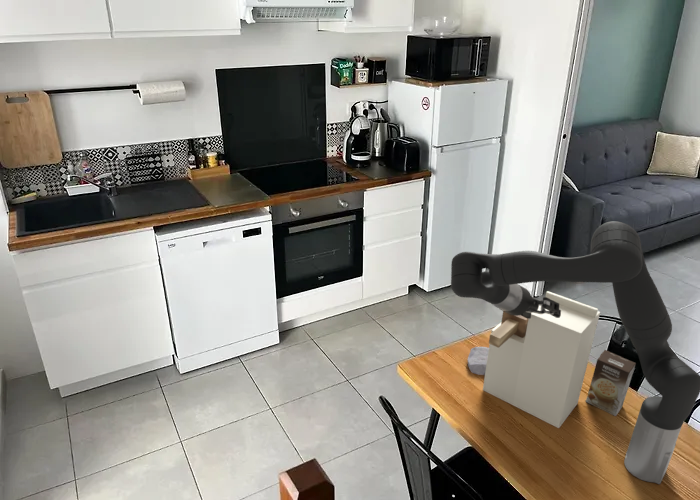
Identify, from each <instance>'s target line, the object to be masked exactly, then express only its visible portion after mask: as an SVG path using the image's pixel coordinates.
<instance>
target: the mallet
mask: <svg viewBox="0 0 700 500" xmlns="http://www.w3.org/2000/svg"><path fill="white" fill-rule="evenodd" d="M501 317H502V318H501V321H500V323H501V325H500V326H499V327H498V328H497V329H496V330H494V331H493V332H492V333H491V332H490V334H489V340H488V345H490V344H491V345H493V346H496V347H498V348H499V347H500V346H501V345H502V344H503V343H504V342H506V341H507V340H508V339H509V338H510V337H511V336H512V335H513V334H514V335H517V336H519V337H521V338H524V337H525V335H526V330H527V324H528V319H527V318H525V317H523V316H521V315H519V316H515V315H510V314H508V313H506V312H504V311H502V315H501Z"/></svg>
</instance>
